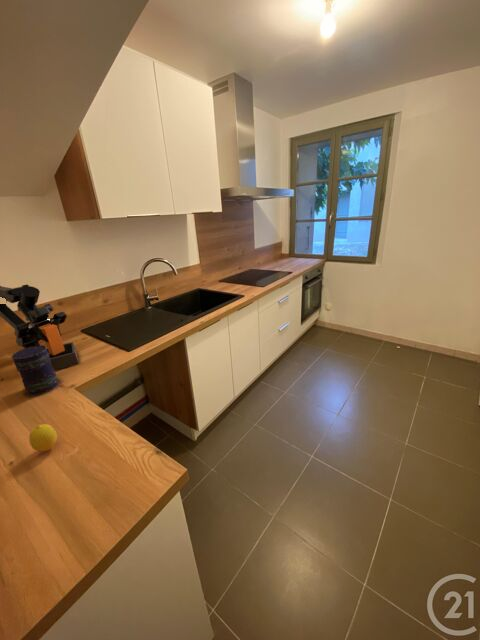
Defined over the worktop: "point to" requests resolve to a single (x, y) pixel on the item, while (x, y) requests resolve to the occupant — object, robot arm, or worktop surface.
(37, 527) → the worktop surface
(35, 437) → the lemon
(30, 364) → the storage jar
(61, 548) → the worktop surface
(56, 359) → the dark grey open box
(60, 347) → the block
